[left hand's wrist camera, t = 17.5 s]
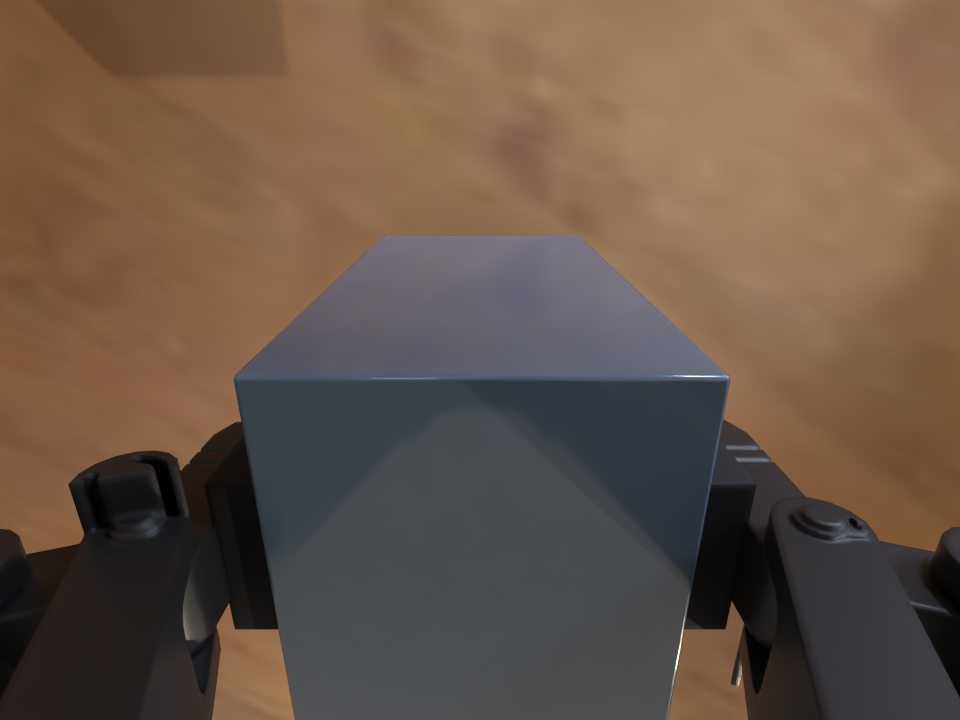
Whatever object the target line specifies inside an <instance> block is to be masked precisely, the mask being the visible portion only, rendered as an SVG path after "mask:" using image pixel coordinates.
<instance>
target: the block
mask: <svg viewBox="0 0 960 720" xmlns="http://www.w3.org/2000/svg"><path fill="white" fill-rule="evenodd" d="M234 383H235V389H236V394H237V400H238V405H239V411H240V417H241V422H242V428H243V433H244V439H245V444H246V450H247V456H248V461H249V467H250V472H251V478H252V484H253V489H254V495H255V500H256V506H257V511H258V517H259V523H260V528H261V534H262V539H263V545H264V550H265V556H266V562H267V567H268V573H269V578H270V584H271V589H272V595H273V601H274V606H275V612H276V617H277V623H278V628H279V634H280V640H281V645H282V651H283V656H284V662H285V667H286V673H287V679H288V684H289V690H290V695H291V701H292V706H293V712H294V718H295V720H668V715H669V710H670V704H671V699H672V693H673V688H674V683H675V677H676V672H677V666H678V661H679V655H680V650H681V645H682V639H683V634H684V628H685V623H686V617H687V612H688V607H689V601H690V596H691V590H692V585H693V579H694V574H695V569H696V563H697V558H698V552H699V547H700V541H701V536H702V531H703V525H704V520H705V514H706V509H707V503H708V498H709V493H710V487H711V482H712V476H713V471H714V465H715V460H716V455H717V449H718V444H719V438H720V433H721V427H722V422H723V417H724V411H725V406H726V400H727V395H728V390H729V384H730V378H729V375H728V374H727V373H726V372H724V371H723V370H722V369H721V368H720V367H719V366H718V365H717V364H716V363H715V362H714V361H713V360H712V359H711V358H709V357H708V356H707V355H706V354H705V353H704V352H703V351H702V350H701V349H700V348H699V347H698V346H697V345H696V344H694V343H693V342H692V341H691V340H690V339H689V338H688V337H687V336H686V335H685V334H684V333H683V332H682V331H680V330H679V329H678V328H677V327H676V326H675V325H674V324H673V323H672V322H671V321H670V320H669V319H668V318H667V317H665V316H664V315H663V314H662V313H661V312H660V311H659V310H658V309H657V308H656V307H655V306H654V305H653V304H652V303H650V302H649V301H648V300H647V299H646V298H645V297H644V296H643V295H642V294H641V293H640V292H639V291H638V290H637V289H635V288H634V287H633V286H632V285H631V284H630V283H629V282H628V281H627V280H626V279H625V278H624V277H623V276H622V275H620V274H619V273H618V272H617V271H616V270H615V269H614V268H613V267H612V266H611V265H610V264H609V263H608V262H606V261H605V260H604V259H603V258H602V257H601V256H600V255H599V254H598V253H597V252H596V251H595V250H594V249H593V248H591V247H590V246H589V245H588V244H587V243H586V242H585V241H584V240H583V239H582V238H581V237H580V236H382V237H381V238H380V239H379V240H378V241H377V242H376V243H375V244H374V245H373V246H372V247H371V248H370V249H369V250H368V251H367V252H365V253H364V254H363V255H362V256H361V257H360V258H359V259H358V260H357V261H356V262H355V263H354V264H353V265H352V266H351V267H350V268H348V269H347V270H346V271H345V272H344V273H343V274H342V275H341V276H340V277H339V278H338V279H337V280H336V281H335V282H334V283H333V284H331V285H330V286H329V287H328V288H327V289H326V290H325V291H324V292H323V293H322V294H321V295H320V296H319V297H318V298H317V299H315V300H314V301H313V302H312V303H311V304H310V305H309V306H308V307H307V308H306V309H305V310H304V311H303V312H302V313H301V314H300V315H298V316H297V317H296V318H295V319H294V320H293V321H292V322H291V323H290V324H289V325H288V326H287V327H286V328H285V329H284V330H283V331H281V332H280V333H279V334H278V335H277V336H276V337H275V338H274V339H273V340H272V341H271V342H270V343H269V344H268V345H267V346H266V347H264V348H263V349H262V350H261V351H260V352H259V353H258V354H257V355H256V356H255V357H254V358H253V359H252V360H251V361H250V362H248V363H247V364H246V365H245V366H244V367H243V368H242V369H241V370H240V371H239V372H238V373H237V374H236V375H235V378H234Z"/></svg>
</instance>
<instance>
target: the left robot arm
mask: <svg viewBox="0 0 960 720" xmlns="http://www.w3.org/2000/svg"><path fill="white" fill-rule="evenodd" d="M68 485H69V488H70V491H71V494H72V497H73V500H74V503H75V506H76V509H77V512H78V516H79V519H80V522H81V525H82V528H83V531H84V534H85V535H84V537H83V539H82V541H81V543H80V544H76V545H72V546H67V547H62V548H56V549H51V550H46V551H41V552H36V553H31V554H26V553H25V550H24V548H23V545H22V542H21V540H20V537H19V535H17V534H16V533H14V532H12V531H11V530H5V529H0V720H212V715H213V707H214V699H215V691H216V683H217V675H218V667H219V659H220V651H221V647H220V640H219V635H218V631H217V626H216V625H217V624H218V622H219V620H220V618H221V616H222V614H223V613H224V611H225V609H226V607H227V605H228V604H229V603H230V608H231V613H232V617H233V622H234V626H235V629H279V628H278V623H277V617H276V612H275V606H274V601H273V595H272V589H271V584H270V578H269V573H268V567H267V562H266V556H265V550H264V545H263V539H262V534H261V528H260V523H259V517H258V511H257V506H256V500H255V495H254V489H253V484H252V478H251V472H250V467H249V461H248V456H247V450H246V444H245V439H244V433H243V428H242V422H235V423H233V424H232V425H230V426H228V427H226V428H225V429H223V430H221V431H220V432H218V433H216V434H214V435H213V436H212V438H211V439H210V440H209V441H208V442H207V443H206V444H205V445H204V446H203V447H202V448H201V452H198V453H197V454H196V455H195V456H194V457H193V458H192V459H191V460H190V464H187V465H186V466H185V467H184V468H183V469H182V470H181V471H180V468H179V464H178V460H177V458H175V457H174V456H173V455H171V454H170V453H166V452H160V451H140V452H133V453H128V454H124V455H119V456H115V457H113V458H110V459H107V460H105V461H102V462H99V463H97V464H95V465H93V466H91V467H90V468H88V469H86V470H84V471H83V472H81V473H79V474H78V475H77V476H76V477H75V478H74V479H73V480H72V481H71V482H70V483H69V484H68ZM731 601H732V602H733V604H734V605H735V607H736V609H737V611H738V613H739V614H740V616H741V618H742V620H743V622H744V626H743V631H742V635H741V639H740V643H739V648H738V652H737V656H736V660H735V665H734V669H733V674H732V680H731V684H732V685H736V686H739V683H740V679H741V674H743V682H744V689H745V697H746V705H747V713H748V720H960V527H951V528H950V529H948V530H947V531H945V532H944V533H942V536H941V539H940V541H939V544H938V547H937V549H936V552H932V551H927V550H922V549H917V548H911V547H906V546H901V545H896V544H891V543H886V542H882V541H879V540H878V538H877V536H876V534H875V533H874V532H873V530H872V529H871V528H870V527H869V525H868V524H867V523H866V522H865V521H863V520H862V519H860V518H859V517H858V516H856V515H855V514H853V513H852V512H850V511H848V510H846V509H844V508H841V507H839V506H837V505H835V504H832V503H829V502H826V501H822V500H818V499H814V498H807V497H806V496H805V495H804V494H803V493H802V492H801V491H800V490H799V489H798V488H797V487H796V486H795V484H794V483H793V482H792V481H791V480H790V479H789V478H788V477H787V476H786V475H785V474H784V473H783V472H782V470H781V469H780V468H779V467H778V466H777V465H776V464H775V463H774V462H771V459H770V457H769V456H768V455H767V454H766V453H765V452H764V451H763V450H760V447H759V446H758V444H757V443H756V442H755V441H754V440H753V439H752V438H751V437H750V436H749V435H748V434H747V433H746V432H744V431H743V430H741V429H739V428H738V427H736V426H734V425H732V424H731V423H729V422H727V421H725V420H723V422H722V427H721V433H720V438H719V444H718V449H717V455H716V460H715V465H714V471H713V476H712V482H711V487H710V493H709V498H708V503H707V509H706V514H705V520H704V525H703V531H702V536H701V541H700V547H699V552H698V558H697V563H696V569H695V574H694V579H693V585H692V590H691V596H690V601H689V607H688V612H687V617H686V623H685V628H684V629H725V628H726V624H727V619H728V615H729V610H730V605H731Z"/></svg>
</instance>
